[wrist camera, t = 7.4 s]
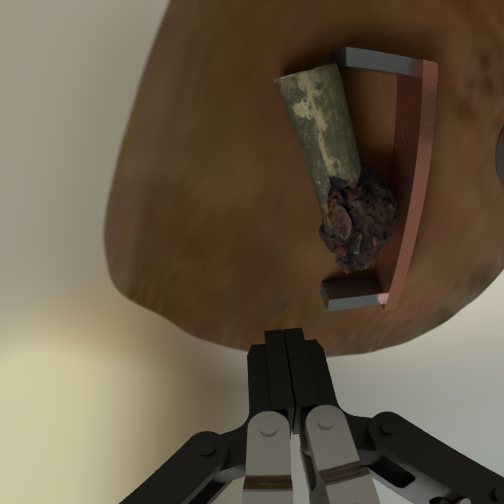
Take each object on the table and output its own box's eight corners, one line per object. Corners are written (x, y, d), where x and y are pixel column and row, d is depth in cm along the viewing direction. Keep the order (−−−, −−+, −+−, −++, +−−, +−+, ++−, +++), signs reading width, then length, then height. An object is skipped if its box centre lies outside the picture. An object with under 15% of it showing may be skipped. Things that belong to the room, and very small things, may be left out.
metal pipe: (269, 78, 21) (281, 77, 16) (346, 60, 20) (377, 56, 16) (322, 257, 30) (340, 292, 25) (383, 236, 30) (408, 267, 25)
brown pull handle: (411, 62, 20) (437, 63, 17) (382, 285, 33) (396, 308, 29) (332, 49, 20) (351, 45, 16) (320, 292, 32) (330, 317, 29)
